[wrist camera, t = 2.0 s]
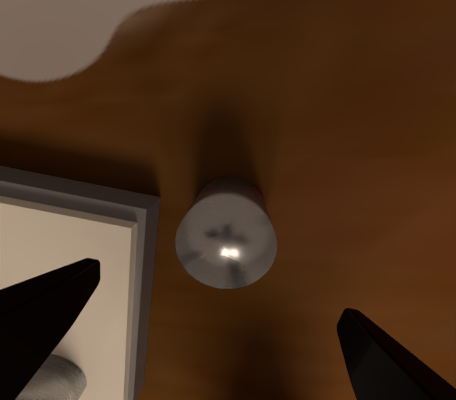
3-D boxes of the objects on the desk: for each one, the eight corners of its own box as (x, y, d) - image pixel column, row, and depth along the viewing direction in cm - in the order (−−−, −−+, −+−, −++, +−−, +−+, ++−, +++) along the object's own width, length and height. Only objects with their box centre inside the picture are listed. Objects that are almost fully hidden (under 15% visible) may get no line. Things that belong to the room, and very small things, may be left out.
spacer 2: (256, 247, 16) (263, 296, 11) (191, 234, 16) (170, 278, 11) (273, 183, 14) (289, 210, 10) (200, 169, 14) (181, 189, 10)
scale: (143, 381, 21) (118, 447, 17) (-14, 352, 21) (-81, 411, 17) (160, 197, 15) (127, 225, 11) (-65, 152, 15) (-195, 163, 10)
